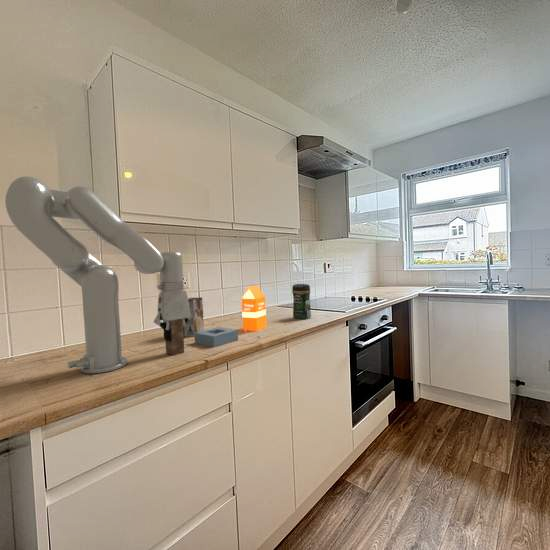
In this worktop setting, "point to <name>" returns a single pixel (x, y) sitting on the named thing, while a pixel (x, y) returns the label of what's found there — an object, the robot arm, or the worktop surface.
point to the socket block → (216, 336)
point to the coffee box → (194, 317)
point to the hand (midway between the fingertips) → (174, 338)
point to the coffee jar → (301, 301)
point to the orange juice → (253, 309)
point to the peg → (176, 338)
